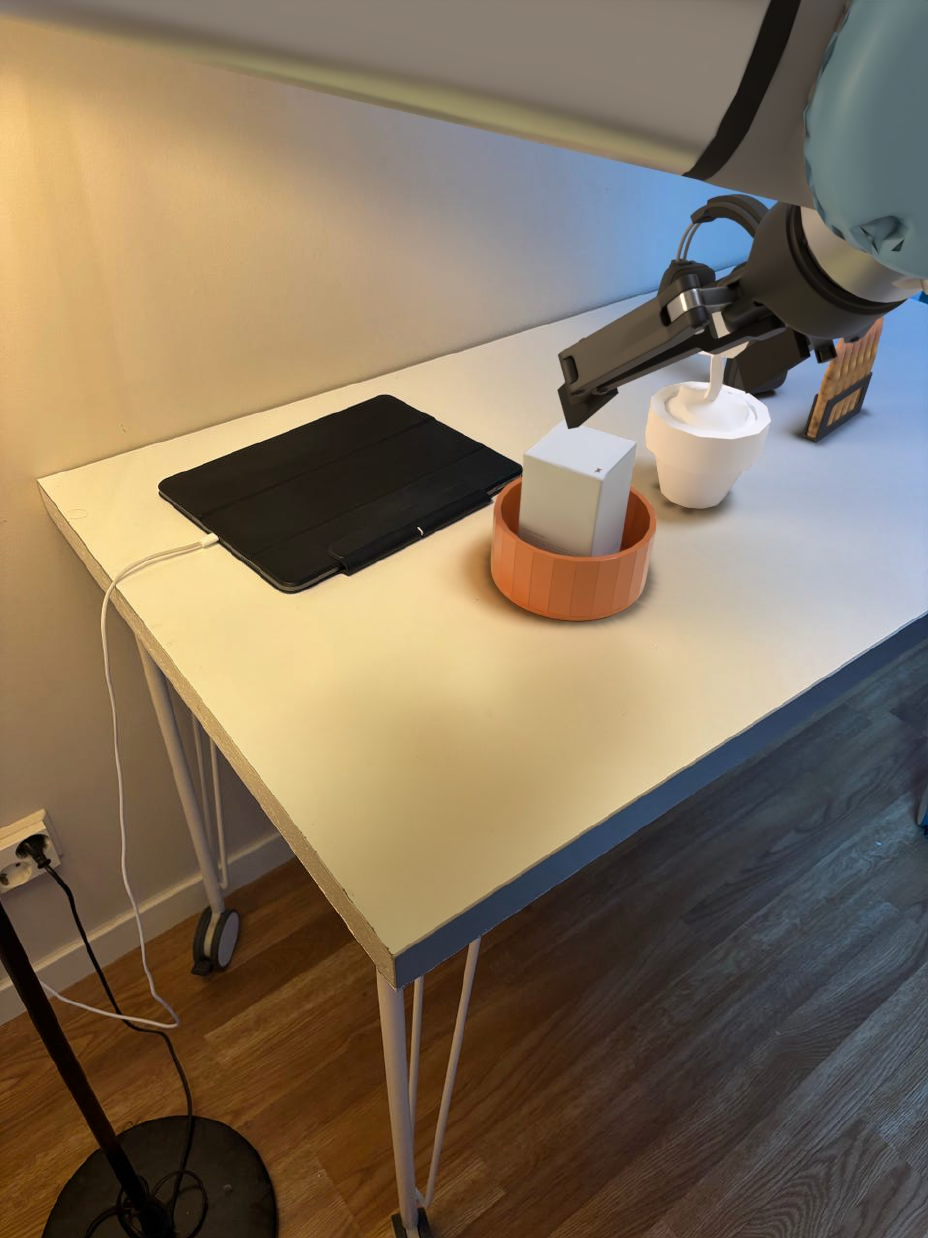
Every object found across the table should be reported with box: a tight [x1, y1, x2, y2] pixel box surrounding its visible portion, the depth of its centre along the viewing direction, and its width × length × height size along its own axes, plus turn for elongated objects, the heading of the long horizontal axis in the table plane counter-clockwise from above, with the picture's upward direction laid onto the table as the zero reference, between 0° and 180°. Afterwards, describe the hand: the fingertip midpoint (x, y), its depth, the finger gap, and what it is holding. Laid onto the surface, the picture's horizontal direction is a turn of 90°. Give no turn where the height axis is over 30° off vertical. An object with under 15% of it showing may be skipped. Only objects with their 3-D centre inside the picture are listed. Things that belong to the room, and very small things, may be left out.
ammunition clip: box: [801, 316, 885, 443], centre depth 107 cm, size 11×2×12 cm, turn 136°
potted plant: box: [644, 312, 772, 510], centre depth 91 cm, size 13×12×25 cm
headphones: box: [656, 193, 789, 395], centre depth 115 cm, size 22×6×20 cm, turn 25°
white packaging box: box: [518, 418, 638, 557], centre depth 83 cm, size 7×7×13 cm
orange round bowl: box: [490, 476, 658, 622], centre depth 86 cm, size 14×14×6 cm
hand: (658, 391), depth 64 cm, fingers open, 13 cm apart
